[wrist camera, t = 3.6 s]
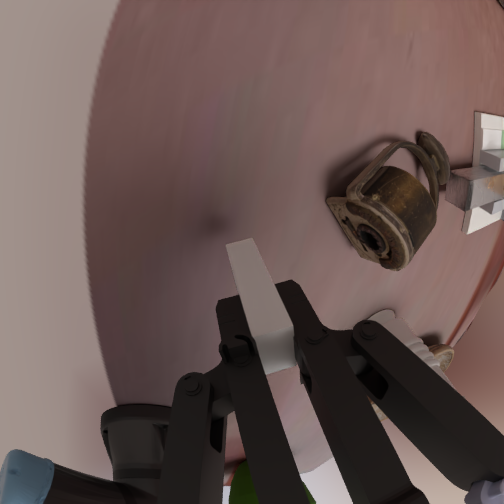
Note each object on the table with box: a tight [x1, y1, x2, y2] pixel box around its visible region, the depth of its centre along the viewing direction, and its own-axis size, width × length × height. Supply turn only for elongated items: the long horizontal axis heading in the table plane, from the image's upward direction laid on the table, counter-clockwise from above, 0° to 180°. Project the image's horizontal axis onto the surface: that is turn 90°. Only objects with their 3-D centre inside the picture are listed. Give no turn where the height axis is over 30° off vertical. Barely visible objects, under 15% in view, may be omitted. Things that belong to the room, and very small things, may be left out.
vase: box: [229, 460, 316, 504], centre depth 41 cm, size 20×20×24 cm
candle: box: [367, 309, 465, 398], centre depth 25 cm, size 7×7×15 cm
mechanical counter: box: [326, 132, 450, 271], centre depth 18 cm, size 7×13×10 cm
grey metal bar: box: [445, 165, 504, 211], centre depth 18 cm, size 10×6×6 cm, turn 99°
